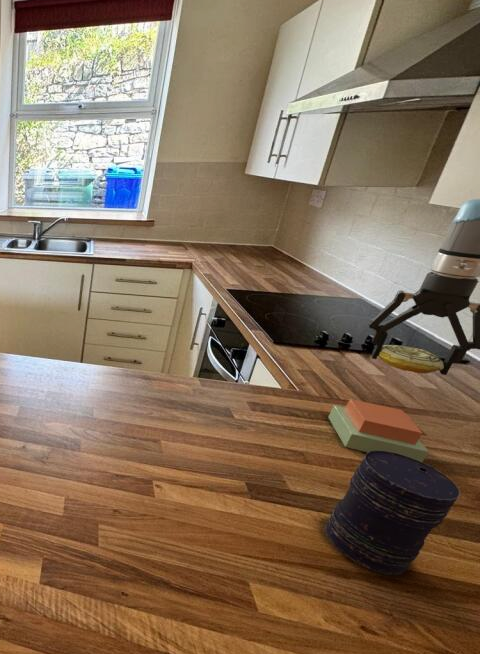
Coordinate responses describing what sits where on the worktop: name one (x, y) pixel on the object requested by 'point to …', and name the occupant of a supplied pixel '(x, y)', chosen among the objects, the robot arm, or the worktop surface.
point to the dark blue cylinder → (390, 511)
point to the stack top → (382, 421)
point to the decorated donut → (410, 359)
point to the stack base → (371, 438)
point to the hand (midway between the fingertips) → (406, 364)
